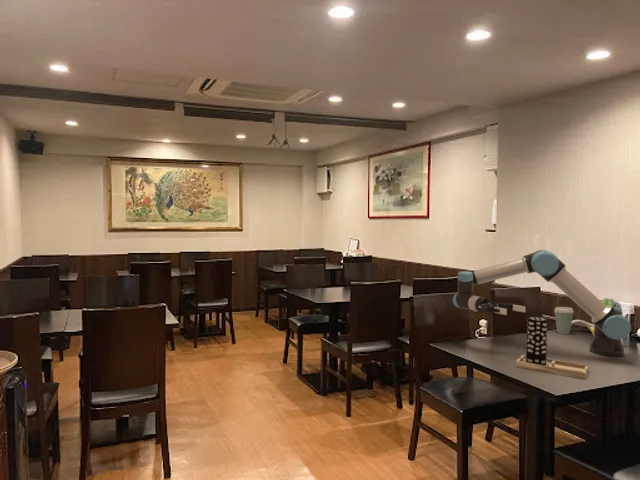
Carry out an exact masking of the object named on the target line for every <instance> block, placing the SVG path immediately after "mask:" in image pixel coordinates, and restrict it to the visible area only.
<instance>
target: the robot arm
mask: <svg viewBox="0 0 640 480" xmlns="http://www.w3.org/2000/svg"><path fill="white" fill-rule="evenodd" d="M524 273H527V274H533V273H537V274H538V275H539V276H541V278H543V279H544V280H545V281H546V282H548V283H553V284H554V285H555V286H556V287H557V288H559V289H560V290H561V291H562V292H563V293H564V294H565V295H566V296H567V297H569V298H570V299H571V300H572V301H573V302H574V303H575V304H576V305H577V306H578V307H579V308H580V309H582V310H583V311H584V312H585V313H586V314H587V315H588V316H590V317H591V324H593V325H594V336H593V338H592V339H591V342H590V344H589V349H588V350H589V352H591V353H594V354H596V355H601V356H608V357H624V356H625V348H624V345H623V342H622V339H625V338H627V337H628V336H629V335H630V334H631V331H632V326H631V325H632V324H631V322H630V320H629V319H628V318H627V317H625V316H624V315H623V308H622V309H620V308H613V307H612V306H611V305H605V304H604V303H603V302H602V300H600V299H599V298H598V297H597V296H596V295H595V294H594V293H593V292H592V291H590V289H588V288H587V287H586V286H585V285H583V283H582V282H580V281H579V280H578V279H577V278H576V277H574V276H573V275H572V274H571V272H569V271H568V270H567V267H566V264H565V263H564V262H562V261H561V260H560V259H559V258H558V257H557V256H556V255H555V253H553V252H552V251H549V250H544V249H540V250H537V251H534V252H532V253H529V254H526V255H523V256H522V257H521V258H518V259H515V260H510V261H507V262H503V263H499V264H495V265H492V266H488V267H484V268H480V269H477V270H473V271H458V272H457V293H455V294H454V295H453V298H452V303H453V305H454V306H455V307H456V308H459V309H463V310H469V311H473V312H474V313H475V312H479V313H488V314H491V315H493V314H498V315H504V316H507V315H508V310H511V311H514V312H520V313H526V306H524V305H518V304H516V303H514V302H513V303H507V302H506V303H505V302H498V301H495V302H494V301H490V299H489V298H488V297H483V296H478V295H473V290H474V289H473V286H477V285H480V284H484V283H488V282H493V281H498V280H500V279H505V278H508V277H512V276H517V275H520V274H524Z"/></svg>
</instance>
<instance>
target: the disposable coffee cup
mask: <svg viewBox="0 0 640 480" xmlns="http://www.w3.org/2000/svg"><path fill="white" fill-rule="evenodd" d="M553 312H554V318H555V324H556V329H557V333H558V334H561V335H569V334H570V333H571V327H572V325H571V323H572V321H573V316H574V313H575V312H574V310H573V308H572V307H568V306H557V307H555V308H554V310H553Z"/></svg>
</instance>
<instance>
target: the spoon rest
mask: <svg viewBox="0 0 640 480" xmlns="http://www.w3.org/2000/svg"><path fill="white" fill-rule="evenodd" d="M576 323H581V324H583V325H584V326H585V327H587V329H588V330H589V331H591V329H590V327H594V323H590V322H587V321H586V320H582V319H574V320H573V319H572V323H571V326H572V325H573V324H576Z"/></svg>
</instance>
